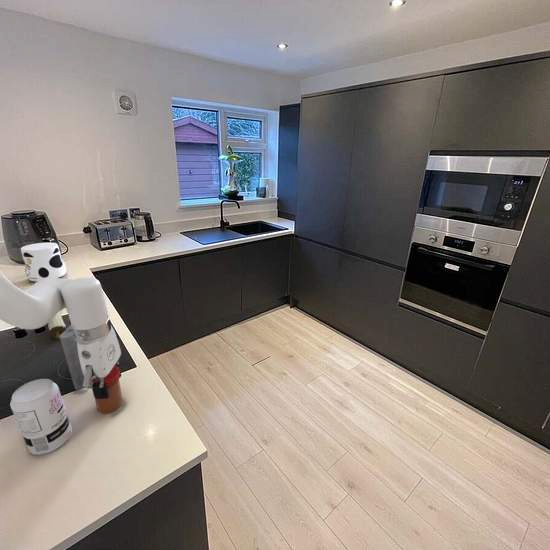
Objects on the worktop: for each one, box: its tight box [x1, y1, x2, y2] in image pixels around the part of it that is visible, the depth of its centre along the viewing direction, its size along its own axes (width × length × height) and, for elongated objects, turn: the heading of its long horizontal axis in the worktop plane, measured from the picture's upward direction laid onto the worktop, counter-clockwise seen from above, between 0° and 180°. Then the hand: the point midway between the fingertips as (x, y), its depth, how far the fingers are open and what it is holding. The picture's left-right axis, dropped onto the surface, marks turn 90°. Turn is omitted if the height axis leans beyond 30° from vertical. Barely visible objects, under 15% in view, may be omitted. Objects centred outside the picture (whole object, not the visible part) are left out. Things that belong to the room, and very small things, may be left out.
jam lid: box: [94, 365, 121, 387], centre depth 74 cm, size 7×7×2 cm
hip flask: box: [59, 318, 85, 391], centre depth 85 cm, size 16×4×20 cm, turn 15°
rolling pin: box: [47, 311, 67, 340], centre depth 113 cm, size 32×6×5 cm, turn 38°
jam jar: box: [94, 379, 124, 414], centre depth 75 cm, size 6×6×10 cm
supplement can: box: [9, 378, 73, 455], centre depth 64 cm, size 8×8×15 cm
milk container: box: [20, 242, 67, 283], centre depth 152 cm, size 17×17×18 cm
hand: (108, 386), depth 75 cm, fingers closed on jam lid, 6 cm apart
